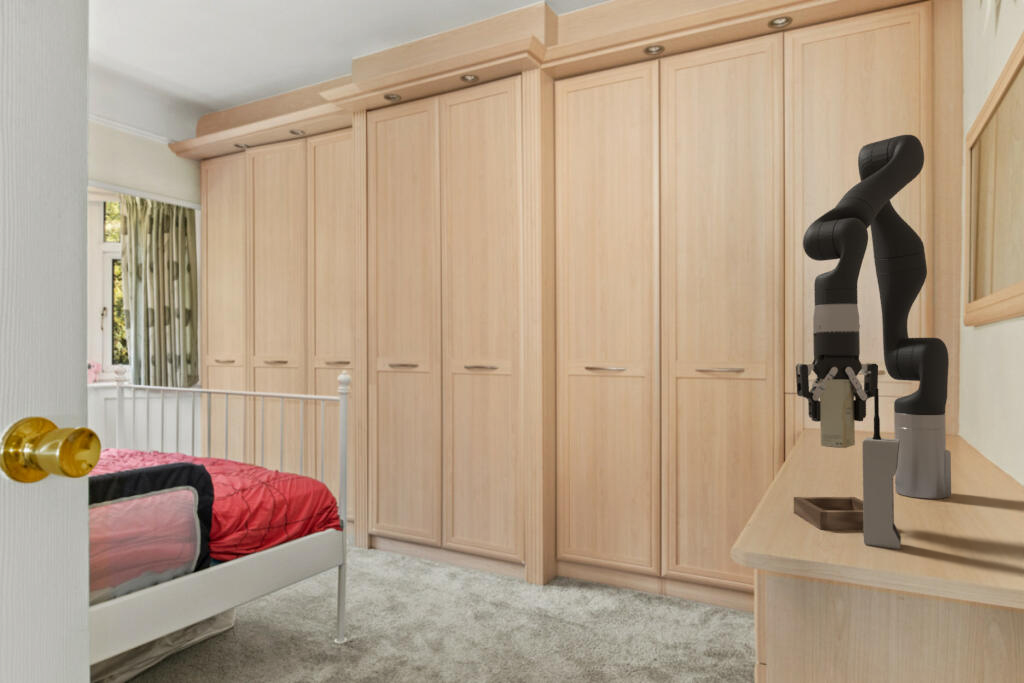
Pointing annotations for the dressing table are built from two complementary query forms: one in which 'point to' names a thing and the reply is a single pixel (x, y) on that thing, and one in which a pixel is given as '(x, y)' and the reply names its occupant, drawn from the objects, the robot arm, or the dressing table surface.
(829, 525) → the walnut holder
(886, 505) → the vintage mobile phone
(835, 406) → the skincare box
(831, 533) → the dressing table surface
